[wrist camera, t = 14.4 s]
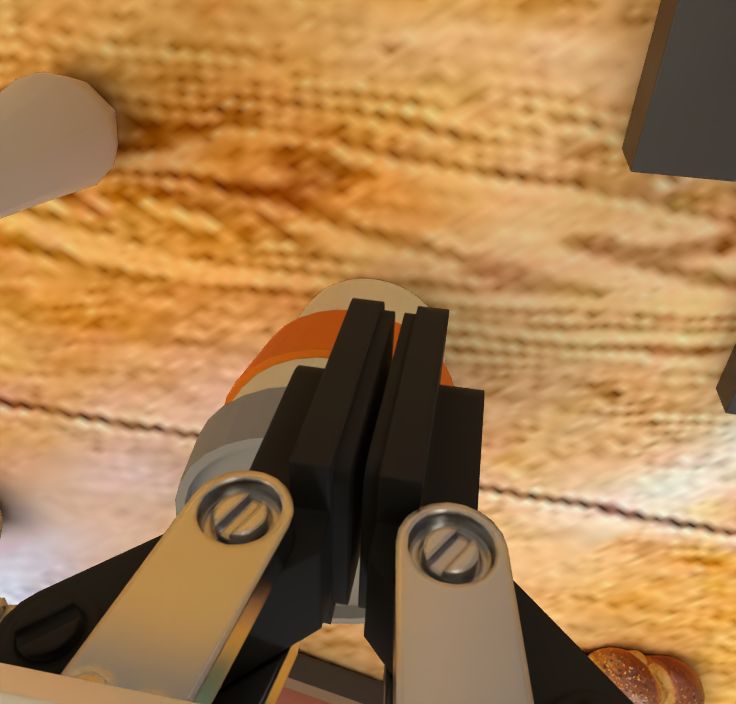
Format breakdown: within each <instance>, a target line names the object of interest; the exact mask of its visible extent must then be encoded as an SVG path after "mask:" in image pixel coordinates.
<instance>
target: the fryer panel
mask: <svg viewBox="0 0 736 704" xmlns="http://www.w3.org/2000/svg"><path fill="white" fill-rule="evenodd" d="M622 150H623V153H624V155H625V158H626V160H627V163H628V165H629V168H630V171H632V172H640V173H650V174H661V175H671V176H682V177H692V178H703V179H714V180H724V181H735V182H736V0H661V3H660V7H659V11H658V14H657V18H656V22H655V26H654V30H653V33H652V37H651V41H650V45H649V48H648V52H647V56H646V60H645V64H644V67H643V71H642V75H641V79H640V82H639V86H638V90H637V94H636V98H635V101H634V105H633V109H632V113H631V116H630V120H629V124H628V128H627V132H626V135H625V139H624V143H623V147H622Z"/></svg>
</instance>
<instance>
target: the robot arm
mask: <svg viewBox="0 0 736 704" xmlns="http://www.w3.org/2000/svg"><path fill="white" fill-rule="evenodd" d="M448 318H449V310H448V309H440V308H432V307H424V306H418V308H417V312H416V314H412V313H404V316H403V320H402V324H401V328H400V332H399V336H398V340H397V344H396V348H395V352H394V356H393V345H394V330H395V311H389V310H385V303H384V302H383V301H375V300H367V299H359V298H352V300H351V302H350V305H349V307H348V310H347V313H346V315H345V318H344V320H343V323H342V325H341V328H340V330H339V333H338V336H337V338H336V341H335V343H334V346H333V348H332V351H331V354H330V356H329V359H328V361H327V364H326V366H325V368H318V367H311V366H304V365H298V366H297V367H296V368H295V370H294V372H293V374H292V376H291V378H290V381H289V383H288V385H287V387H286V389H285V392H284V394H283V396H282V398H281V401H280V403H279V405H278V407H277V409H276V412H275V414H274V416H273V418H272V421H271V423H270V425H269V427H268V429H267V432H266V434H265V436H264V438H263V441H262V443H261V445H260V447H259V449H258V452H257V454H256V456H255V458H254V461H253V463H252V465H251V467H250V469H249V470H245V471H233V472H229V473H226V474H223V475H220V476H217V477H215V478H213V479H212V480H210V481H208V482H207V483H205V484H203V485H202V486H201V487H200V488H199V489H198V490H197V491H196V492H195V493H194V494H193V495H192V497H191V498H190V499H189V501H188V502H187V503H186V505H185V506H184V507H183V509H182V510H181V512H180V513H179V514H178V516H177V517H176V518H175V520H174V521H173V522H172V524H171V525H170V526H169V528H168V529H167V531H166V532H165V533H164V534H163V535H161V536H159V537H156V538H154V539H152V540H150V541H148V542H146V543H143V544H141V545H139V546H137V547H135V548H133V549H130V550H128V551H126V552H124V553H122V554H119V555H117V556H115V557H113V558H111V559H109V560H106V561H104V562H102V563H100V564H98V565H96V566H93V567H91V568H89V569H87V570H85V571H83V572H80V573H78V574H76V575H74V576H72V577H69V578H67V579H65V580H63V581H61V582H59V583H56V584H54V585H52V586H50V587H48V588H46V589H43V590H41V591H39V592H37V593H35V594H34V595H32V596H30V597H29V598H27V599H25V600H24V601H22V602H20V603H19V604H18V605H8V604H7V602H6V600H5V598H0V704H276V702H277V699H278V697H279V695H280V693H281V691H282V688H283V686H284V684H285V682H286V679H287V677H288V675H289V673H290V670H291V668H292V666H293V664H294V662H295V659H296V657H297V654H298V650H299V647H300V641H301V640H302V639H304V638H306V637H307V636H309V635H311V634H312V633H314V632H315V631H317V630H319V629H320V628H321V627H322V624H323V623H327V624H331V622H332V618H333V614H334V610H335V606H336V603H337V604H342V605H348V603H349V600H350V596H351V592H352V588H353V583H354V579H355V575H356V570H357V566H358V561H359V557H360V571H359V595H358V607H359V608H364V609H365V627H364V637H365V638H366V640H367V641H368V642H369V644H370V645H371V646H372V648H373V649H374V651H375V652H376V653H377V655H378V656H379V658H380V659H381V660H382V662H383V663H384V665H385V666H384V697H383V704H634V703H633V702H632V701H631V700H630V699H629V698H628V697H627V696H626V695H625V694H624V693H623V692H622V691H621V690H620V689H619V688H618V687H617V686H616V685H615V684H614V683H613V682H612V681H611V680H610V679H609V678H608V677H607V675H606V674H605V673H604V672H603V671H602V670H601V669H600V668H599V667H598V666H597V665H596V664H595V663H594V662H593V661H592V660H591V659H590V658H589V657H588V656H587V655H586V654H585V653H584V652H583V651H582V650H581V649H580V648H579V647H578V646H577V645H576V644H575V643H574V642H573V641H572V640H571V639H570V638H569V637H568V636H567V635H566V634H565V633H564V632H563V631H562V629H561V628H560V627H559V626H558V625H557V624H556V623H555V622H554V621H553V620H552V619H551V618H550V617H549V616H548V615H547V614H546V613H545V612H544V611H543V610H542V609H541V608H540V607H539V606H538V605H537V604H536V603H535V602H534V601H533V600H532V599H531V598H530V597H529V596H528V595H527V594H526V593H525V592H524V591H523V590H522V589H521V588H520V587H519V586H518V585H517V583H516V582H515V581H514V580H513V576H512V570H511V564H510V558H509V553H508V548H507V545H506V542H505V539H504V536H503V534H502V533H501V531H500V530H499V529H498V527H497V526H496V525H495V523H494V522H493V521H492V520H490V519H489V518H488V517H486V516H485V515H484V514H482V513H481V512H480V511H478V494H479V478H480V461H481V444H482V428H483V411H484V390H477V389H469V388H462V387H455V386H448V385H441V384H440V382H441V374H442V366H443V358H444V350H445V342H446V334H447V326H448Z"/></svg>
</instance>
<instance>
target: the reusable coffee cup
mask: <svg viewBox="0 0 736 704" xmlns="http://www.w3.org/2000/svg"><path fill="white" fill-rule="evenodd" d="M352 298H359V299H367V300H375V301H383V302H384V303H385V310H389V311H395V330H394V345H393V356H394V352H395V348H396V344H397V340H398V336H399V332H400V328H401V324H402V320H403V316H404V313H412V314H416V312H417V308H418V306H424V307H428V306H427V305H426V304H425V303H424V302H423V301H422V300H420V299H419V298H418V297H417V296H416V295H414V294H413V293H411V292H409V291H408V290H406V289H404V288H402V287H400V286H397V285H395V284H392V283H390V282H386V281H381V280H377V279H361V278H359V279H352V280H345V281H342V282H339V283H336V284H333V285H331V286H329V287H328V288H326V289H324V290H323V291H321V292H320V293H319V294H318V295H317V296H315V297H314V298H313V299H312V300H311V302H310V303H309V304H308V305H307V307H306V308H305V309H304V310H303V312H302V313H301V314H300V316H299V317H298V318H297V319H296V320H295V321H293V322H291V323H289V324H288V325H286V326H284V327H283V328H282V329H281V330H280V331H279V332H278V333H277V334H276V335H274V336H273V337H272V338H271V340H270V341H269V342H268V343H267V345H266V346H265V347H264V348H263V349H262V351H261V352H260V353H259V354H258V356H257V357H256V358H255V359H254V360H253V362H252V363H251V364H250V365H249V367H248V368H247V369H246V370H245V372H244V373H243V374H242V375H241V376H240V378H239V379H238V380H237V381H236V383H235V384H234V386H233V388H232V389H231V391H230V392H229V394H228V396H227V398H226V402H225V405H224V406H223V407H222V408H221V409H220V410H218V411H217V412H216V413H215V414H214V415H213V416H212V417H211V418H210V419H209V420H208V421H207V423H206V424H205V426H204V428H203V429H202V431H201V432H200V434H199V436H198V438H197V441H196V443H195V446H194V448H193V451H192V453H191V456H190V458H189V461H188V463H187V466H186V468H185V471H184V473H183V476H182V478H181V481H180V484H179V487H178V491H177V495H176V499H175V502H176V517H177V516H178V514H179V513H180V512H181V510H182V509H183V507H184V506H185V505H186V503H187V502H188V501H189V499H190V498H191V497H192V495H193V494H194V493H195V492H196V491H197V490H198V489H199V488H200V487H201V486H202V485H203V484H205V483H207V482H208V481H210V480H212V479H213V478H215V477H217V476H220V475H223V474H226V473H229V472H233V471H245V470H249V469H250V467H251V465H252V463H253V461H254V458H255V456H256V454H257V452H258V449H259V447H260V445H261V443H262V441H263V438H264V436H265V434H266V432H267V429H268V427H269V425H270V423H271V421H272V418H273V416H274V414H275V412H276V409H277V407H278V405H279V403H280V401H281V398H282V396H283V394H284V392H285V389H286V387H287V385H288V383H289V381H290V378H291V376H292V374H293V372H294V370H295V368H296V367H297V366H298V365H304V366H311V367H318V368H325V366H326V364H327V361H328V359H329V356H330V354H331V351H332V348H333V346H334V343H335V341H336V338H337V336H338V333H339V330H340V328H341V325H342V323H343V320H344V318H345V315H346V313H347V310H348V307H349V305H350V302H351V300H352ZM440 384H441V385H448V386H453V382H452V378H451V376H450V374H449V372H448V370H447V368H446V363H445V350H444V358H443V366H442V374H441V382H440ZM359 571H360V557H359V561H358V566H357V570H356V575H355V579H354V583H353V588H352V592H351V596H350V600H349V603H348V605H342V604H337V603H336V606H335V610H334V614H333V618H332V622H331V623H342V624H360V623H365V609H364V608H359V607H358V595H359Z"/></svg>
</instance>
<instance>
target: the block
mask: <svg viewBox="0 0 736 704" xmlns="http://www.w3.org/2000/svg"><path fill="white" fill-rule="evenodd" d="M716 390H717V392H718V395H719V397H720V400H721V402H722V405H723V407H724V410H725V412H726V413H730V414H736V345H735V347H734V349H733V351H732V354H731V356H730V358H729V360H728V363H727V365H726V367H725V369H724V372H723V374H722V376H721V378H720V380H719V383H718V385H717V387H716Z"/></svg>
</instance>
